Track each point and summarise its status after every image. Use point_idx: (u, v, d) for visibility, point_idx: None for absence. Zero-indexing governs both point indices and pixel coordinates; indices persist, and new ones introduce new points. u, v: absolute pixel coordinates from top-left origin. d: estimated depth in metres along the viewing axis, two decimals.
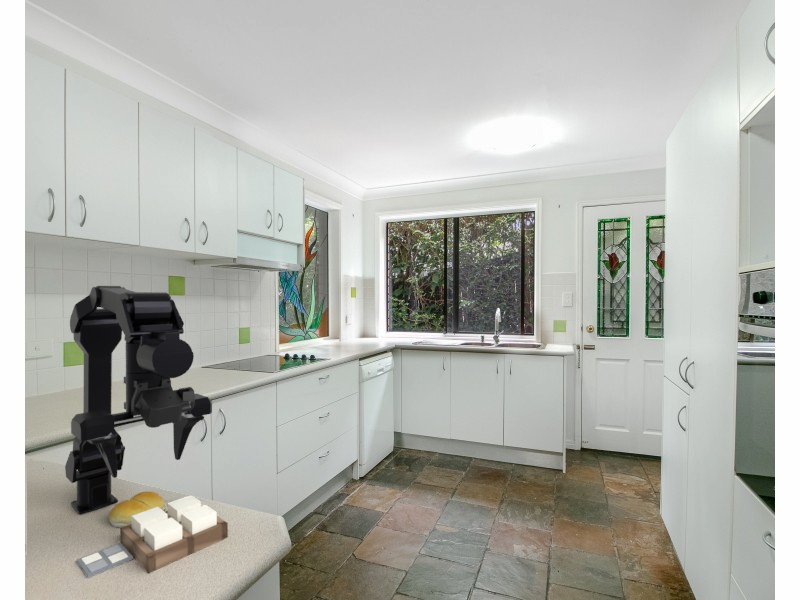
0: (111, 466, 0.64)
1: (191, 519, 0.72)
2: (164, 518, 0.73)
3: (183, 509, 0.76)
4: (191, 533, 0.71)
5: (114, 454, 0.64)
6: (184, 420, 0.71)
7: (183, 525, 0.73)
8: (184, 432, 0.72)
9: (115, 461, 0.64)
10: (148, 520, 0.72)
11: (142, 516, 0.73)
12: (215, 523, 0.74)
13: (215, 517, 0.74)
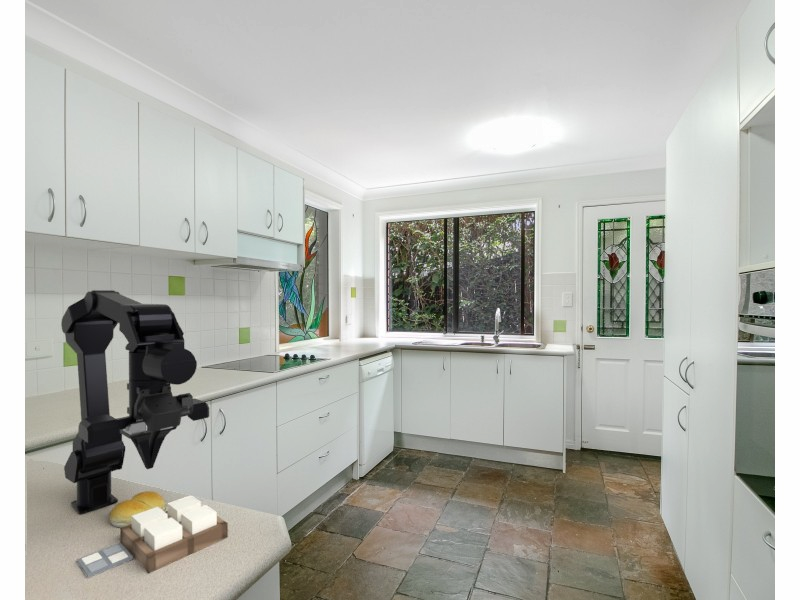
0: (145, 459, 0.72)
1: (191, 519, 0.72)
2: (164, 518, 0.73)
3: (183, 509, 0.76)
4: (191, 533, 0.71)
5: (148, 448, 0.72)
6: None
7: (183, 525, 0.73)
8: (157, 441, 0.73)
9: (149, 454, 0.72)
10: (148, 520, 0.72)
11: (142, 516, 0.73)
12: (215, 523, 0.74)
13: (215, 517, 0.74)
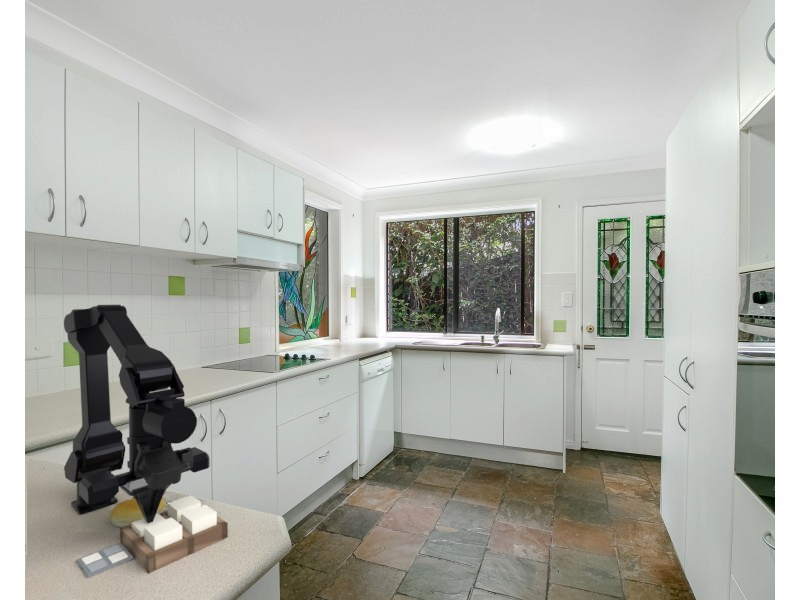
0: (146, 513, 0.72)
1: (191, 519, 0.72)
2: None
3: (183, 509, 0.76)
4: (191, 533, 0.71)
5: (148, 503, 0.72)
6: None
7: (183, 525, 0.73)
8: (157, 495, 0.73)
9: (149, 509, 0.73)
10: None
11: (142, 523, 0.73)
12: (215, 523, 0.74)
13: (215, 517, 0.74)
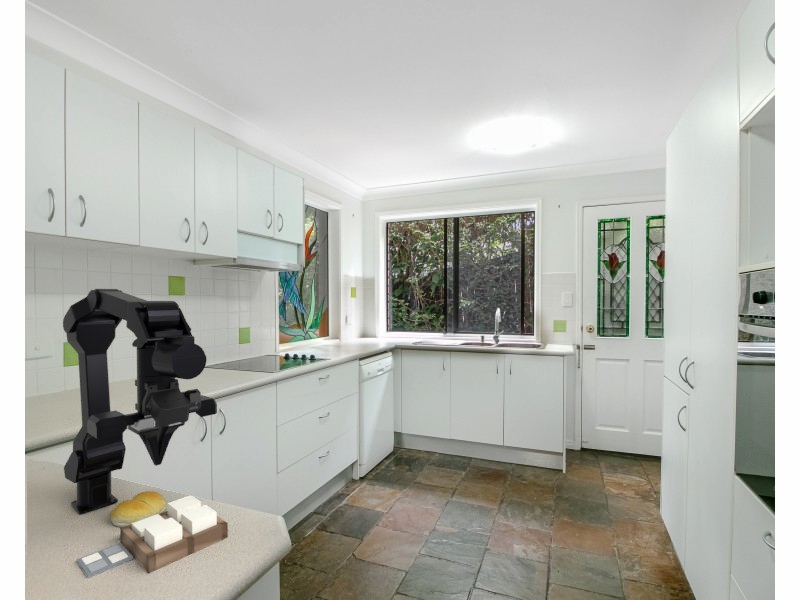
0: (154, 455, 0.72)
1: (191, 519, 0.72)
2: None
3: (183, 509, 0.76)
4: (191, 533, 0.71)
5: (156, 444, 0.72)
6: (165, 426, 0.73)
7: (183, 525, 0.73)
8: (165, 437, 0.73)
9: (157, 450, 0.72)
10: None
11: (142, 523, 0.73)
12: (215, 523, 0.74)
13: (215, 517, 0.74)
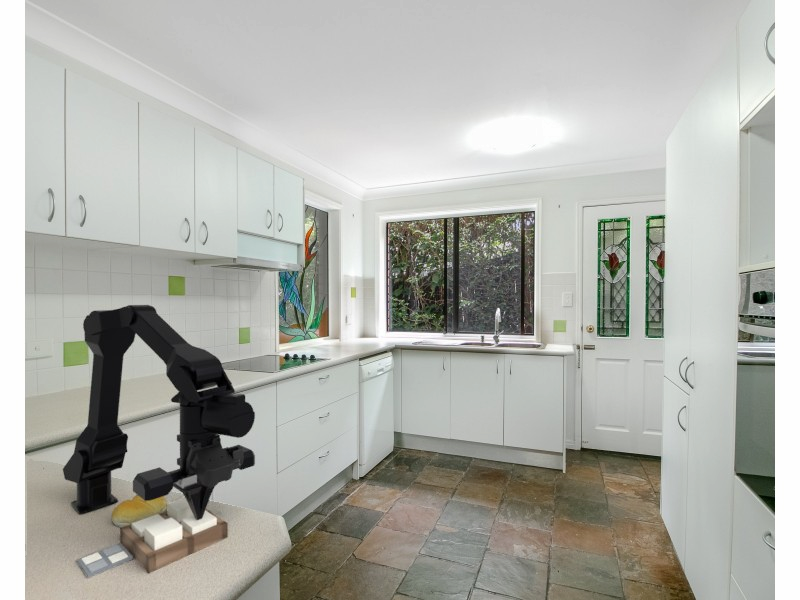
0: (196, 510, 0.73)
1: (191, 525, 0.72)
2: None
3: (183, 509, 0.76)
4: None
5: (198, 500, 0.73)
6: None
7: None
8: (207, 492, 0.74)
9: (199, 506, 0.73)
10: None
11: (142, 523, 0.73)
12: None
13: (215, 523, 0.74)
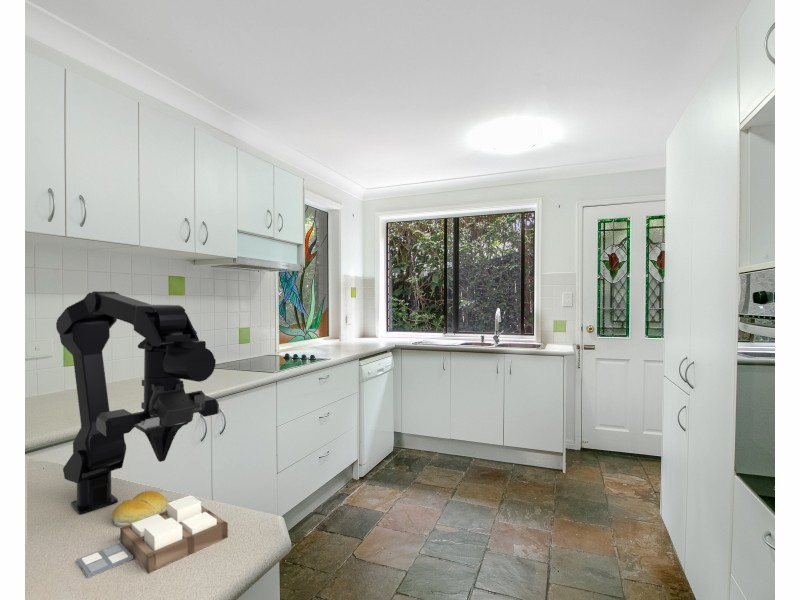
0: (158, 452, 0.76)
1: (191, 527, 0.72)
2: None
3: (183, 509, 0.76)
4: None
5: (161, 442, 0.76)
6: None
7: None
8: (169, 436, 0.77)
9: (161, 448, 0.76)
10: None
11: (142, 523, 0.73)
12: None
13: (215, 524, 0.74)
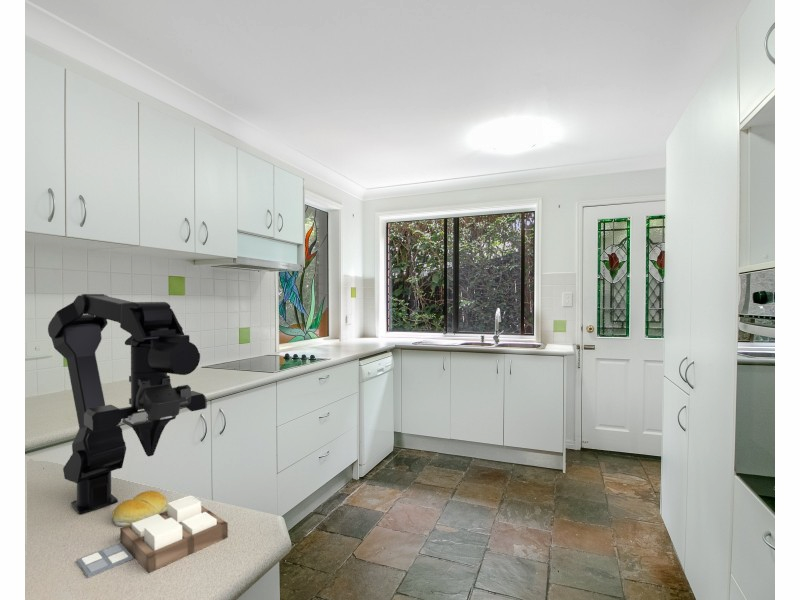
0: (146, 446, 0.77)
1: (191, 527, 0.72)
2: None
3: (183, 509, 0.76)
4: None
5: (149, 436, 0.77)
6: (157, 419, 0.78)
7: None
8: (157, 430, 0.78)
9: (149, 442, 0.77)
10: None
11: (142, 523, 0.73)
12: None
13: (215, 524, 0.74)
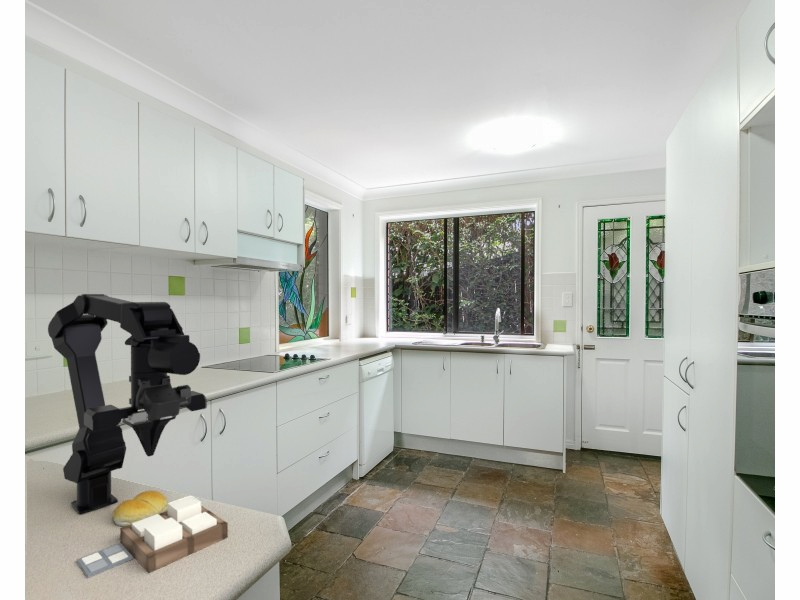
0: (146, 446, 0.77)
1: (191, 527, 0.72)
2: None
3: (183, 509, 0.76)
4: None
5: (149, 436, 0.77)
6: (157, 419, 0.78)
7: None
8: (157, 430, 0.78)
9: (149, 442, 0.77)
10: None
11: (142, 523, 0.73)
12: None
13: (215, 524, 0.74)
